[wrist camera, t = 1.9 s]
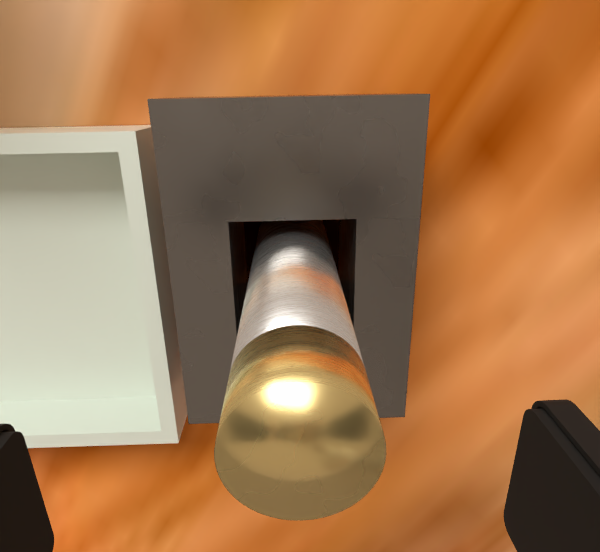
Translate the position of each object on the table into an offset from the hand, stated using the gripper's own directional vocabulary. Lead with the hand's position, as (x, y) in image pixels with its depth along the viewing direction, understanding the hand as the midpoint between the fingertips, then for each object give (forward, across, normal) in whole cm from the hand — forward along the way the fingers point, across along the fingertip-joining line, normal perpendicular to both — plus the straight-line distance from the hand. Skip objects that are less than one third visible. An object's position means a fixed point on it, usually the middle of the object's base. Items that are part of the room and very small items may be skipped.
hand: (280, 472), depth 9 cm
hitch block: (+17, -1, +1) cm, 17 cm away
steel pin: (+17, -1, +1) cm, 17 cm away
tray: (+17, +13, +3) cm, 22 cm away
